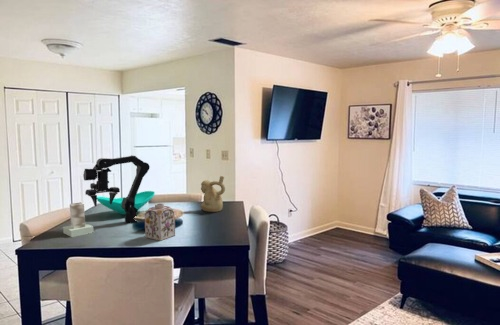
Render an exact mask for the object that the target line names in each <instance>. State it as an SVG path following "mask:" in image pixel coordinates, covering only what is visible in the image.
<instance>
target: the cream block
mask: <svg viewBox="0 0 500 325" xmlns="http://www.w3.org/2000/svg"><path fill="white" fill-rule="evenodd" d="M85 214H86V213H85V203H83V202H73V203H69V215H70V216H69V217H70V226H71V227H73V228H74V229H75V228H80V227H85V223H86V217H85V216H86V215H85Z"/></svg>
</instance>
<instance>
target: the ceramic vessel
mask: <svg viewBox="0 0 500 325" xmlns="http://www.w3.org/2000/svg"><path fill="white" fill-rule="evenodd" d="M224 179H225V177H224V176H221V175H220V176H219V180H218V181H215V180H213V181H209V180H208V179H207V180H206V179H205V180H203V181H202V182H201V183H200V186H201V187H200V190H201V192H202V193H203V194H204V195H203V200H202V203H201V205H200V208H201V210H202V211H203V212H204V211H205V212H209V213H216V212H217V213H218V212H221V211H222V210H223V208H224V207H223V206H224V204H223V203H224V202H223V199H222V195H223V194H224V193H225V191H226V187H225V184H224V183H223V182H224ZM215 185H216V186H219V187H220V188H221V189H220V190H219V191H218V190H217V189H216V188H214V186H215Z"/></svg>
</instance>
